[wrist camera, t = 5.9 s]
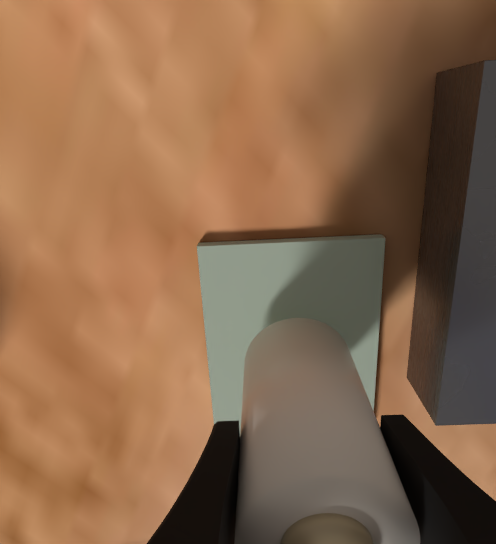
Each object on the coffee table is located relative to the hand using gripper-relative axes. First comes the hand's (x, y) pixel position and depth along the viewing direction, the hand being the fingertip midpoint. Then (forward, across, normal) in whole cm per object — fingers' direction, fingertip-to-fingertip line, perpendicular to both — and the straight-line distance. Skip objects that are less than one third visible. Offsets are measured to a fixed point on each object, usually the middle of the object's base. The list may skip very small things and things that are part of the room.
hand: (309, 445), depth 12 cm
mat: (+6, 0, 0) cm, 6 cm away
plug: (+4, 0, 0) cm, 4 cm away
